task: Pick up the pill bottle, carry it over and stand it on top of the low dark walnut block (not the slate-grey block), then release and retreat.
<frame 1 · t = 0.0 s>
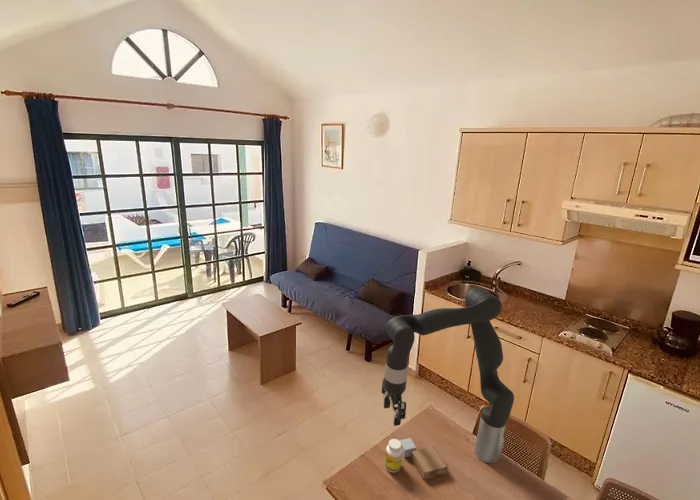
hand: (391, 415, 125), 29 cm above the table, fingers open, 8 cm apart
walnut block: (428, 465, 141), on the table
slate block: (406, 451, 147), on the table
pill bottle: (392, 466, 140), on the table
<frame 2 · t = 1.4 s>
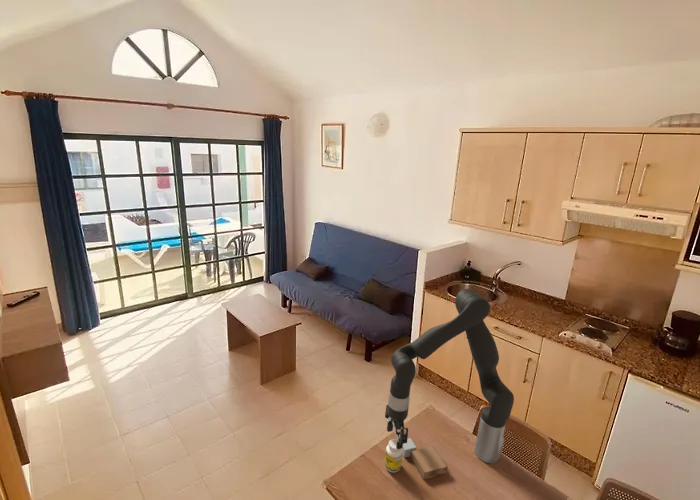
hand: (394, 439, 136), 13 cm above the table, fingers open, 8 cm apart
nothing on the table moved.
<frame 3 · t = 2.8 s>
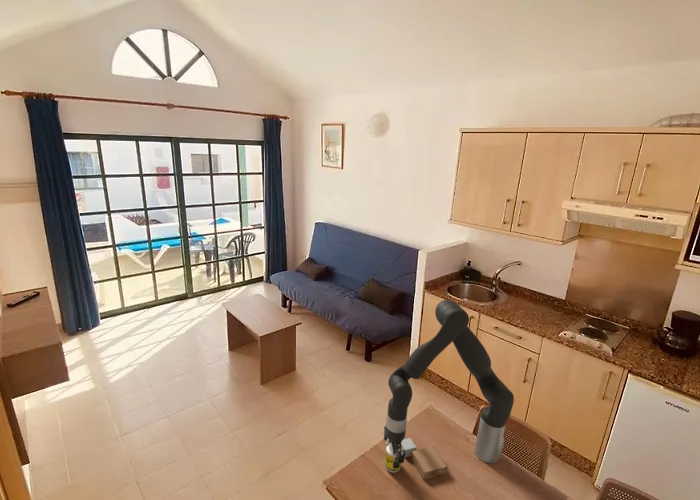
hand: (392, 459, 139), 3 cm above the table, fingers closed on pill bottle, 6 cm apart
pill bottle: (392, 466, 140), on the table, touching gripper
everything else where it was.
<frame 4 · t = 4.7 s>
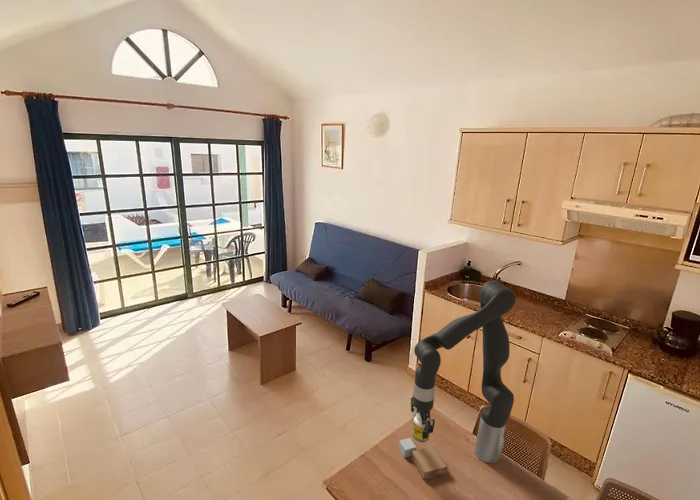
hand: (420, 431, 136), 17 cm above the table, fingers closed on pill bottle, 6 cm apart
pill bottle: (420, 438, 137), point 13 cm above the table, touching gripper
everything else where it was.
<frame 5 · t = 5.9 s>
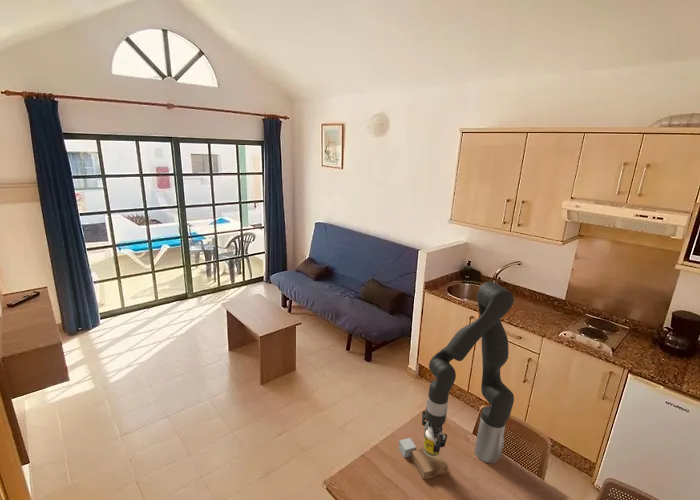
hand: (431, 444, 138), 10 cm above the table, fingers closed on pill bottle, 6 cm apart
pill bottle: (431, 451, 139), point 7 cm above the table, touching gripper
everything else where it was.
when the fingers open (8 cm above the table, at t = 6.9 s): pill bottle stays where it is, resting on walnut block.
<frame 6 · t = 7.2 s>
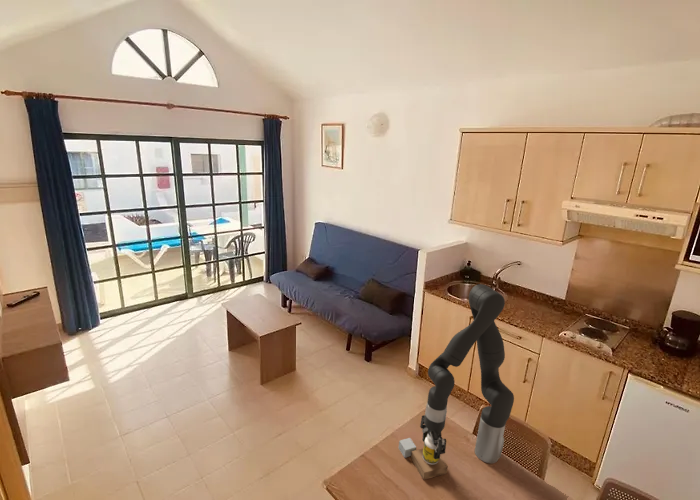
hand: (430, 449, 139), 8 cm above the table, fingers open, 8 cm apart
pill bottle: (430, 459, 140), point 3 cm above the table, touching walnut block
everything else where it was.
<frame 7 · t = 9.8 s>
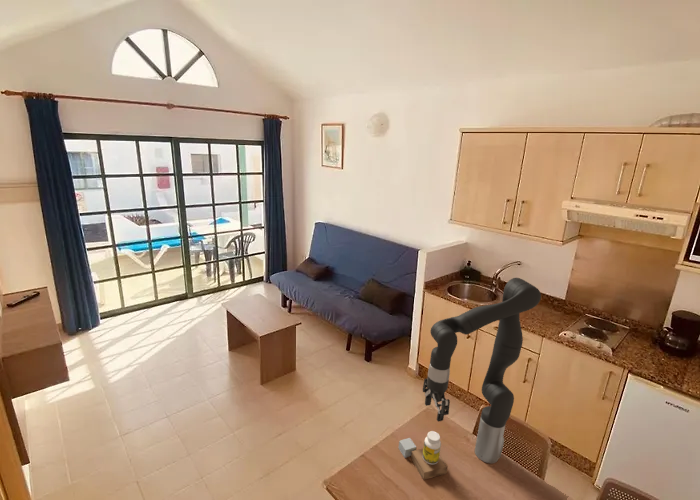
hand: (433, 412, 136), 24 cm above the table, fingers open, 8 cm apart
nothing on the table moved.
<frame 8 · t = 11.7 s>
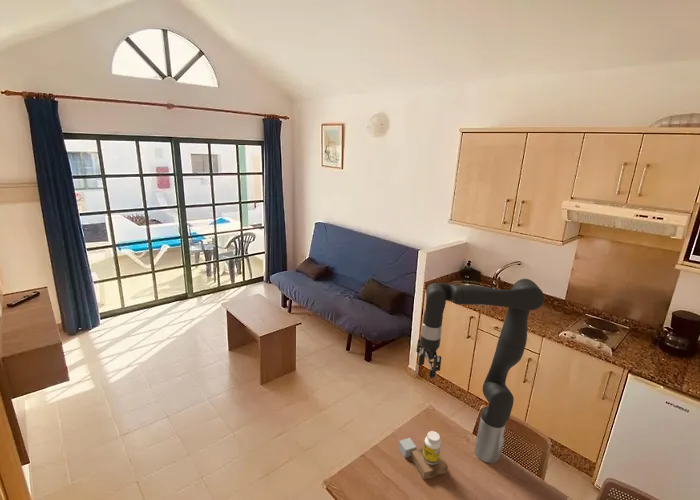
hand: (426, 370, 143), 34 cm above the table, fingers open, 8 cm apart
nothing on the table moved.
at the end: pill bottle inside the target area on the walnut block (0.4 cm from its centre), point 3.3 cm above the walnut block's base; pill bottle tilted 0°; the gripper is holding nothing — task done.
